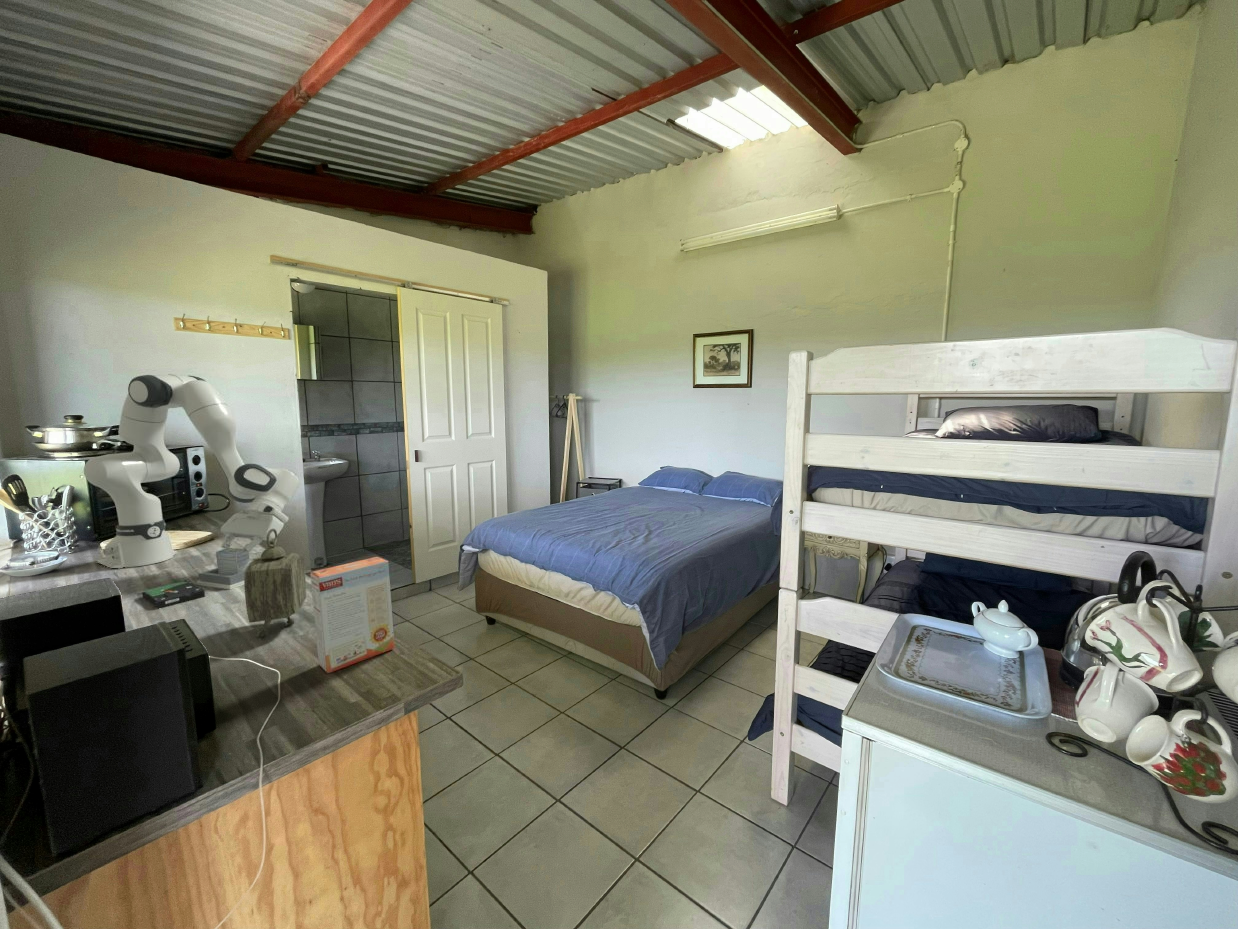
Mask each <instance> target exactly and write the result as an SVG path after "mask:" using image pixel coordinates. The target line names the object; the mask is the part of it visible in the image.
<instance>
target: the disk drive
mask: <svg viewBox="0 0 1238 929" xmlns="http://www.w3.org/2000/svg"><path fill="white" fill-rule="evenodd" d="M141 595H142V598H143V599H144V598H145V599H146V600H145V599H144V600H145V601H147V602H148V601H149V602H148V603H150V604H151V605H153V606H154V605H155V606H154V607H155V608H156V609H159V608H161V609H164V608H167V607H171V606H175V605H179V604H183V603H187V602H191V601H195V600H197V599H202V598H205V597H206V591H205V589H204V588H203V587H201V586H200V585H197V584H196V583H195V584H194V583H193V582H191V581H189V580H188V579H186V580H181V581H177V582H172V583H168V584H164V585H162V586H157V587H153V588H150V589H149V588H148V589H144V590H143V591H142V594H141Z"/></svg>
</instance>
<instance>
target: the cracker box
mask: <svg viewBox="0 0 1238 929" xmlns="http://www.w3.org/2000/svg"><path fill="white" fill-rule="evenodd" d="M389 571H390V570H389V560H387V559H384V558H383V557H380V556H373V557H370V558H366V559H361V560H357V561H353V562H348V563H345V564H341V565H340V564H339V565H336V566H331V567H327V568H322V569H318V570H315V571H311V572H310V584H311V585H310V586H311V596H312V605H313V616H314V627H315V635H316V636H315V638H316V647H317V650H316V651H317V656H318V657H317V660H318V665H319V666H320V667H321V669H323V671H325V672H326V673H327V674H330V673H333V672H336V671H338V670H341V669H344V668H346V667H349V666H351V665H354V664H357V663H359V662H362V661H365V660H367V659H370V658H373V657H376V656H378V655H381V654H383V653H386V652H388V651H391V650H394V649H395V641H394V640H395V639H394V637H395V636H394V625H393V610H392V609H393V608H392V597H391V596H392V595H391V584H390V583H391V582H390V581H391V580H390V572H389ZM392 632H393V633H392Z"/></svg>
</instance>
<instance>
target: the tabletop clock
mask: <svg viewBox="0 0 1238 929" xmlns="http://www.w3.org/2000/svg"><path fill="white" fill-rule="evenodd" d="M272 532H274V533H275V538H274V539H273V540H271V541H269V537H270V534H271V533H272ZM265 541H266V545H267V547H268V548H266V549H264V550H263V551H262V553H261V555H259V556H257V557H255V558H253V559H252V560H251V561H250V562H251V563H250V564H249V565H248V566H247V568H246V570H245V574H244V585H243V586H244V599H245V600H244V601H245V608H246V614H247V620H248V622H249V623H257V622H264V623H263V626H262V628H261V630H260V631H257V633H256V637H257V638H260V639H262V638H263V637H265V634H266V632H265V631H266V629H267V627H268V625H269V624H270V623H271V621H273V620H280V619H287V621H286V625H287V626H292V625H294V623H295V619H292V618H291V617H292V616H294V614H297V613H298V612H299V611H300V609H301V608H302V606H303V605H304V603H305V601H306V598H307V581H306V568H305V560H304V556H303V555H301V554H298V553H296V552H292V553H291V552H290V553H287V552H285V550H284V548H283V547H281V546H276V544H277V542H278V535H277V531H276V530H275V529H271V530H269V532H268V534H267V538H266V540H265Z"/></svg>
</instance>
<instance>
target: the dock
mask: <svg viewBox="0 0 1238 929" xmlns="http://www.w3.org/2000/svg"><path fill="white" fill-rule="evenodd" d="M251 562H252V561H250V563H251ZM244 574H245V571H244V572H241V573H238V574H235V575H232V576H230V575H222V574H218V567H216V568H212V569H210V570H205V571H202V572H200V573H198V576H199V580H198V581H196V582H195V584H196V585H197V586H203V587H208V588H209V587H210V588H217V589H225V590H232V589H236V588H238V587H241V586H244Z"/></svg>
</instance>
